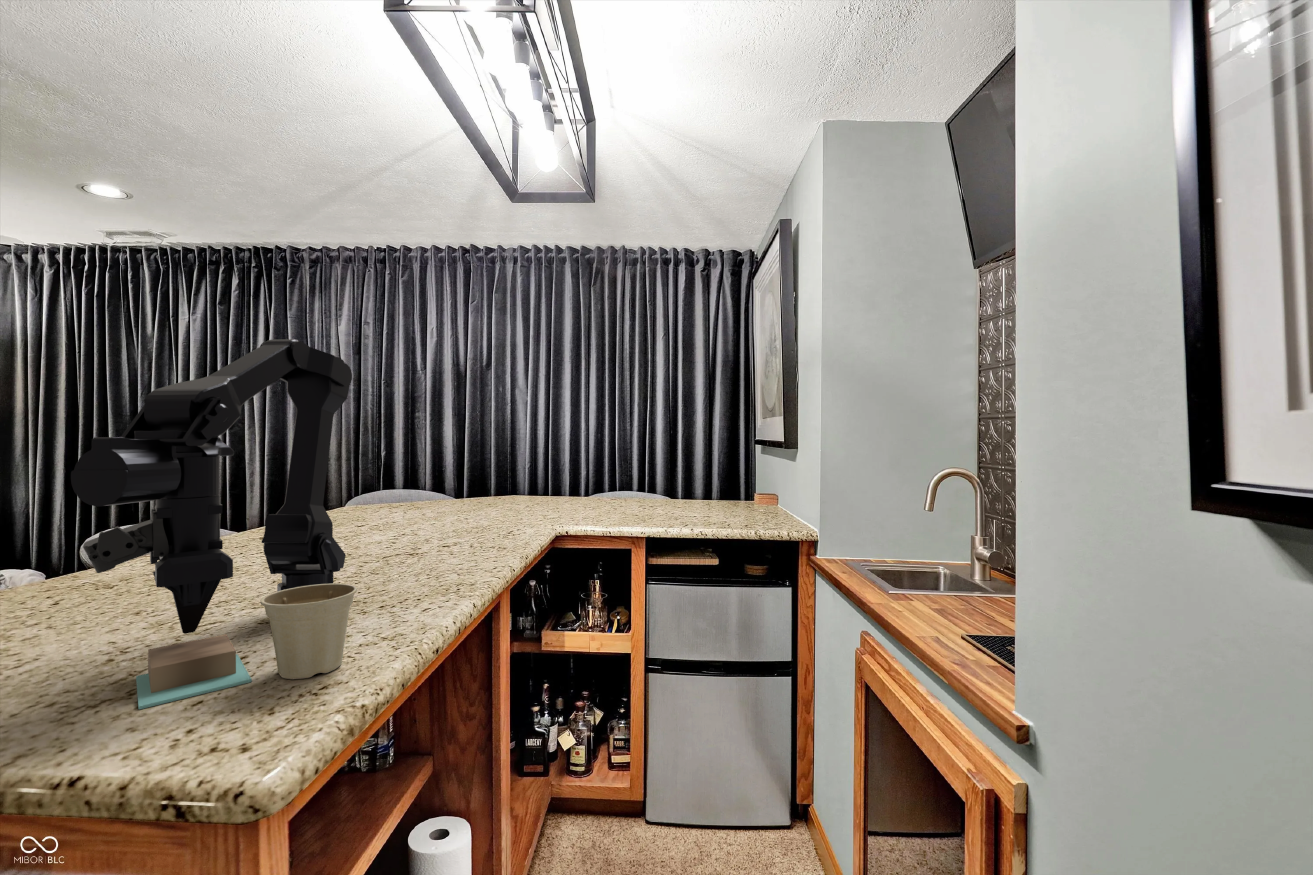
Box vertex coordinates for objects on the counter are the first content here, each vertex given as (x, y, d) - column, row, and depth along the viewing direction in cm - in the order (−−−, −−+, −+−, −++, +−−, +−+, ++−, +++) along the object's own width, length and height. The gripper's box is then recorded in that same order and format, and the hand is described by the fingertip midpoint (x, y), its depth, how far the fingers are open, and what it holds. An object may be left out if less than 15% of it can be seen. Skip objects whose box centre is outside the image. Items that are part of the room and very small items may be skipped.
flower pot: (271, 660, 67) (271, 587, 67) (360, 648, 71) (360, 579, 71) (250, 693, 58) (250, 609, 58) (353, 677, 62) (353, 598, 62)
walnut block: (226, 634, 68) (235, 650, 62) (226, 654, 68) (236, 673, 62) (148, 649, 63) (151, 668, 58) (148, 671, 63) (151, 693, 58)
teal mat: (237, 656, 68) (237, 654, 68) (251, 681, 61) (251, 678, 61) (136, 678, 62) (136, 675, 62) (138, 709, 55) (138, 706, 55)
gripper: (92, 496, 66) (92, 629, 66) (85, 509, 53) (85, 677, 53) (213, 490, 74) (213, 609, 74) (233, 500, 60) (233, 646, 60)
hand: (188, 632), depth 65 cm, fingers closed
